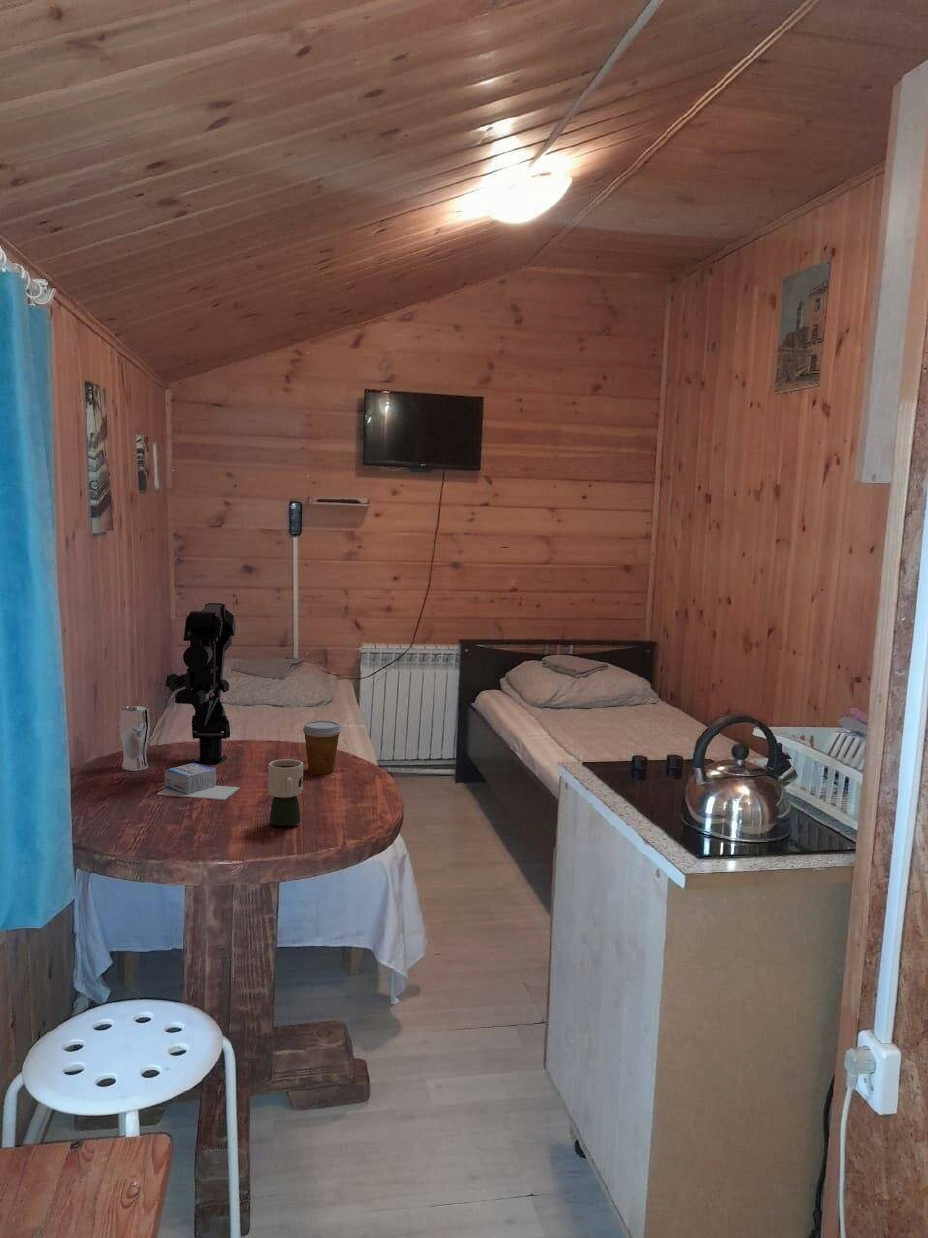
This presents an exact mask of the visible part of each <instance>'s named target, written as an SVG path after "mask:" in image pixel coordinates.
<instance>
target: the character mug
mask: <svg viewBox="0 0 928 1238" xmlns="http://www.w3.org/2000/svg"><path fill="white" fill-rule="evenodd" d="M267 775H268V777H267V779H268V780H267V782H268V783H267V792H268V795H270V796H272V797H273V798H272V800H271V807H270V815H269V824H270V825H273V826H284V827H286V828H287V827H288V826H296V825H298V824H300V823H301V813H300V811H301V810H300V804H299V799H298V797H297V796H300V795H301V794H302V793H303V792H304V791H303V790H304V762H303V761H302V760H296V759H290V758H289V759H288V758H285V759H284V758H283V759H276V760H272V761H270V762H269V763H268V771H267Z"/></svg>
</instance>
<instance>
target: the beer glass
mask: <svg viewBox="0 0 928 1238" xmlns="http://www.w3.org/2000/svg"><path fill="white" fill-rule="evenodd" d="M119 715H120V716H119V717H120V718H119V733H120V738H121V739H120V740H121V745H122V751H123V757H122V758H123V760H122V765H121V769H122V770H123V771H127V772H137V771H144V770H146V769H148V768H149V764H148V758H147V748H148V742H149V735H150V730H151V727H150V726H151V724H150V723H151V722H150V721H151V720H150V709H149V706H144V705H129V706H124V707H121V708H120V714H119Z"/></svg>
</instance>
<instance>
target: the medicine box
mask: <svg viewBox="0 0 928 1238" xmlns="http://www.w3.org/2000/svg"><path fill="white" fill-rule="evenodd" d="M216 771H217V769H216V768H215V767H212V766H209V765H204V764H200V763H198V762H192V763H187V764H183V765H180V766H176V767H175V766H174V767H171V768H167V769H165V770H164V789H165V788H168V789H172V790H175V791H178V792H182V793H185V794H191V793H195V792H198V791H201V790H205V789H208V788H212V787H215V786H217V784H216V783H217V774H216V773H217V772H216Z"/></svg>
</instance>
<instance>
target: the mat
mask: <svg viewBox="0 0 928 1238" xmlns="http://www.w3.org/2000/svg"><path fill="white" fill-rule="evenodd" d="M239 790H240V787H239V786H238V787H237V786H226V785H216V786H215V787H212V788H208V789H205V790H201V791H198V792H195V793H191V794H185V793H182V792H178V791H175V790H172V789H168V788H165V787H164V788H163V789H162V790H160V791H158V792H156V795H157V796H163V797H164V796H167V797H177V798H178V797H179V798H191V799H202V800H218V801H226V800H227V799H228V798H231V796H232V795H233V794H235V793H236V792H237V791H239Z"/></svg>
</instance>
